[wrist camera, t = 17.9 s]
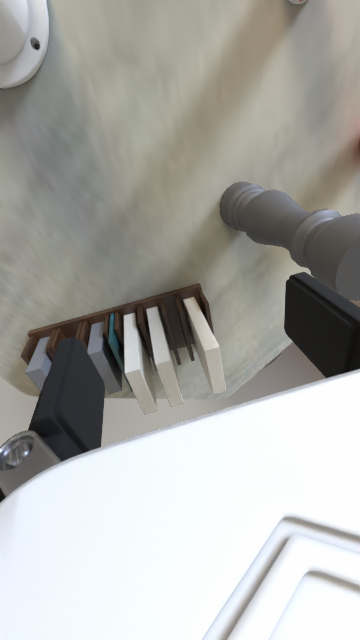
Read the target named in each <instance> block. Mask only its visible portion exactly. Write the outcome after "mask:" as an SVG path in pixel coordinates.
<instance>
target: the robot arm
mask: <svg viewBox="0 0 360 640" xmlns="http://www.w3.org/2000/svg"><path fill="white" fill-rule="evenodd" d="M48 39H49V16H48V9H47V3H46V0H0V88H11V87H16V86H19V85H21V84H23V83H25V82H27V81H28V80H29V79H30V78H31V77H32V76H33V75H34V74H36V72H37V70H38V69H39V67H40V66H41V64H42V62H43V59H44V57H45V54H46V51H47V45H48ZM36 44H39V46H40V48H39V50H36V49H35V45H36ZM284 329H285V332H286V334H287V335H288V337H289V338H290V339H291V340H292V341H293V342H294V343H295V344H296V345H297V346H298V347H299V349H300V350H301V351H302V352H303V353H304V354H305V355H306V356H307V357H308V359H309V360H310V361H311V362H312V363H313V364H314V365H315V366H316V367H317V368H318V370H319V371H320V372H321V373H322V374H323V375H324V376H325V377H326V379H323V380H319V381H316V382H313V383H309V384H306V385H302V386H299V387H296V388H292V389H289V390H285V391H282V392H279V393H275V394H272V395H269V396H265V397H262V398H258V399H255V400H252V401H249V402H245V403H242V404H239V405H235V406H232V407H229V408H225V409H222V410H219V411H215V412H212V413H209V414H205V415H203V416H199V417H196V418H192V419H189V420H186V421H183V422H179V423H176V424H173V425H169V426H166V427H163V428H160V429H157V430H153V431H150V432H147V433H144V434H140V435H137V436H134V437H131V438H128V439H124V440H121V441H118V442H115V443H112V444H109V445H106V446H103V447H101V437H102V423H103V422H102V421H103V408H104V394H105V384H104V381H103V379H102V377H101V375H100V374H99V372H98V370H97V368H96V367H95V365H94V363H93V361H92V359H91V358H90V356H89V354H88V352H87V350H86V349H85V347H84V345H83V343H82V341H81V340H80V339H75V338H74V337H71V338H67V339H64V340H60V341H59V343H58V346H57V349H56V352H55V355H54V358H53V361H52V364H51V367H50V370H49V373H48V376H47V377H46V379H45V381H44V384H43V387H42V390H41V393H40V396H39V399H38V402H37V405H36V408H35V411H34V414H33V417H32V420H31V423H30V426H29V429H28V430H27V431H23V432H20V433H18V434H16V435H14V436H12V437H11V438H9V439H8V440H7V441H6V442H5V443H4V444H3V445H2V446H1V447H0V640H360V307H358V306H356V305H355V304H353V303H352V302H350V301H349V300H347V299H346V298H344V297H343V296H341V295H340V294H338V293H336V292H335V291H333V290H332V289H330V288H329V287H327V286H326V285H324V284H323V283H321V282H320V281H318V280H316V279H315V278H313V277H312V276H310V275H309V274H307V273H305V272H301V273H298V274H294V275H291V276H290V277H289V279H288V280H287V281H286V294H285V322H284Z"/></svg>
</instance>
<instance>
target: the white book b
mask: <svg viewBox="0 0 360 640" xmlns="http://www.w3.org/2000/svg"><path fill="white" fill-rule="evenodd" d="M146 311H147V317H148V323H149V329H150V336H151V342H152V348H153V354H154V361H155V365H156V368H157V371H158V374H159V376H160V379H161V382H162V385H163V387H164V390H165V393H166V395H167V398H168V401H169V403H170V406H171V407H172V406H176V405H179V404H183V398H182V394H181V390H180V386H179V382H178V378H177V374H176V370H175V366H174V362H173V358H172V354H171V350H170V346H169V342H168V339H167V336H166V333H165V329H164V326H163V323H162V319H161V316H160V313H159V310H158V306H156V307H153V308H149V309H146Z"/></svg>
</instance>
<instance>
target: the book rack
mask: <svg viewBox="0 0 360 640" xmlns="http://www.w3.org/2000/svg"><path fill="white" fill-rule="evenodd" d="M191 297H194V298H195V300H196V302H197V304H198V306H199V308H200V310H201V312H202V314H203V316H204V317H205V319H206V321H207V323H208V325H209V327H210V329H211V331H212V333H213V327H212V321H211V315H210V309H209V303H208V301H207V299H206V298H205V296H204V294H203V292H202V288H201V285H200V284H196V285H192V286H189V287H185V288H182V289H178V290H174V291H171V292H167V293H164V294H160V295H157V296H153V297H149V298H146V299H142V300H139V301H135V302H131V303H128V304H124V305H121V306H117V307H114V308H110V309H106V310H103V311H99V312H96V313H92V314H88V315H85V316H81V317H78V318H74V319H70V320H67V321H63V322H60V323H56V324H53V325H49V326H45V327H42V328H38V329H35V330H31V331H29V333H28V336H29V337H30V338H29V340H28V342H27V344H26V346H25V348H24V350H23V352H22V354H21V357H22V358H23V359H24V361H25V362H26V363H27V365H29V363H30V361H31V358H32V356H33V354H34V351H35V349H36V347H37V345H38V342H39V340H40V339H42V338H46V337H49V336H50V338H49V341H48V344H47V346H46V350H47V352H48V353H49V355H50V356H51V358H52V359H53V358H54V355H55V352H56V349H57V346H58V343H59V341H60V340H64V339H67V338H71V337H74V338H75V339H80V340H81V341H82V343H83V345H84V347H85V349H86V350H88V344H89V338H90V332H91V326H92V324H96V323H99V322H103V321H104V335H105V337H106V339H107V341H108V343H109V345H110V347H111V349H112V351H113V354H114V356H115V358H116V360H117V362H118V364H119V366H120V368H121V370H122V372H123V374H124V376H125V378H126V380H127V383H128V385H129V387H130V389H131V391H132V392H133V390H132V388H131V386H130V383H129V381H128V379H127V377H126V375H125V363H124V315H128V314H131V313H135V314H136V317H137V319H138V323H139V326H140V329H141V331H142V334H143V337H144V339H145V342H146V345H147V347H148V350H149V354H150V356H151V358H152V361H153V364H154V366H155V369H156V371H157V368H156V365H155V361H154V354H153V348H152V342H151V336H150V329H149V323H148V317H147V311H146V309H149V308H153V307H156V306H158V310H159V313H160V316H161V319H162V323H163V326H164V329H165V333H166V336H167V339H168V342H169V346H170V350H174V353H175V357H176V360H177V363H178V365H180V364H181V362H180V358H179V355H178V351H177V349H178V348H181V347H185V346H186V347H187V350H188V352H189V355H190V358H191V361H194V356H193V351H192V347H191V344H194V343H193V340H192V336H191V332H190V328H189V323H188V319H187V315H186V311H185V306H184V302H183V300H184V299H187V298H191ZM213 335H214V333H213Z"/></svg>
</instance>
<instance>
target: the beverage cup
mask: <svg viewBox="0 0 360 640" xmlns="http://www.w3.org/2000/svg"><path fill="white" fill-rule="evenodd" d="M288 1H290V2H292V3H293V4H303V3H304V2H306V1H307V0H288Z"/></svg>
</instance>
